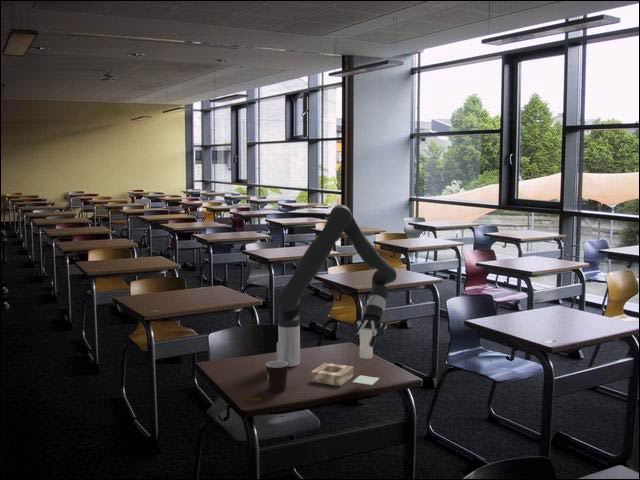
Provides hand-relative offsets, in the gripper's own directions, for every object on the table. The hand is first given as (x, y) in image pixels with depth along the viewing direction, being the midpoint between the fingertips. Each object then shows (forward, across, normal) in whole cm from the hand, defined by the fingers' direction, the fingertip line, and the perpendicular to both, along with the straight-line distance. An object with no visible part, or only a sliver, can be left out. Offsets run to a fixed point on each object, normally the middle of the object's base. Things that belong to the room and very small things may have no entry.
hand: (364, 345), depth 253 cm
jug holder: (+12, -13, +9) cm, 20 cm away
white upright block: (+3, 0, +4) cm, 5 cm away
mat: (+10, 0, +12) cm, 15 cm away
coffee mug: (+25, -28, -3) cm, 38 cm away
